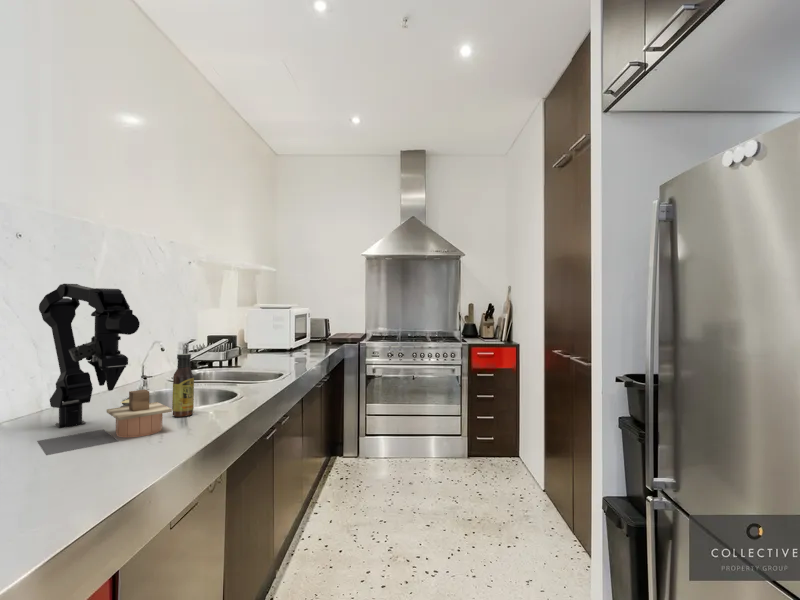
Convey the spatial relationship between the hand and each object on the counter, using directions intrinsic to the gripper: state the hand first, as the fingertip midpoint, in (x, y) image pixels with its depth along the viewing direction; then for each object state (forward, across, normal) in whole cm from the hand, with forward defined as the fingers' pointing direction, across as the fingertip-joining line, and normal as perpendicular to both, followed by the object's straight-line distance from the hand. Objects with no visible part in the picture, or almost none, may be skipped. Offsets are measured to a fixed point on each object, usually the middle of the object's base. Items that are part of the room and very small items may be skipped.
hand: (105, 387), depth 127 cm
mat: (+12, +6, -8) cm, 16 cm away
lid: (+6, +8, +6) cm, 12 cm away
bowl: (+12, +8, +6) cm, 16 cm away
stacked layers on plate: (+13, -14, +11) cm, 23 cm away
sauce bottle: (+13, -4, +23) cm, 26 cm away
